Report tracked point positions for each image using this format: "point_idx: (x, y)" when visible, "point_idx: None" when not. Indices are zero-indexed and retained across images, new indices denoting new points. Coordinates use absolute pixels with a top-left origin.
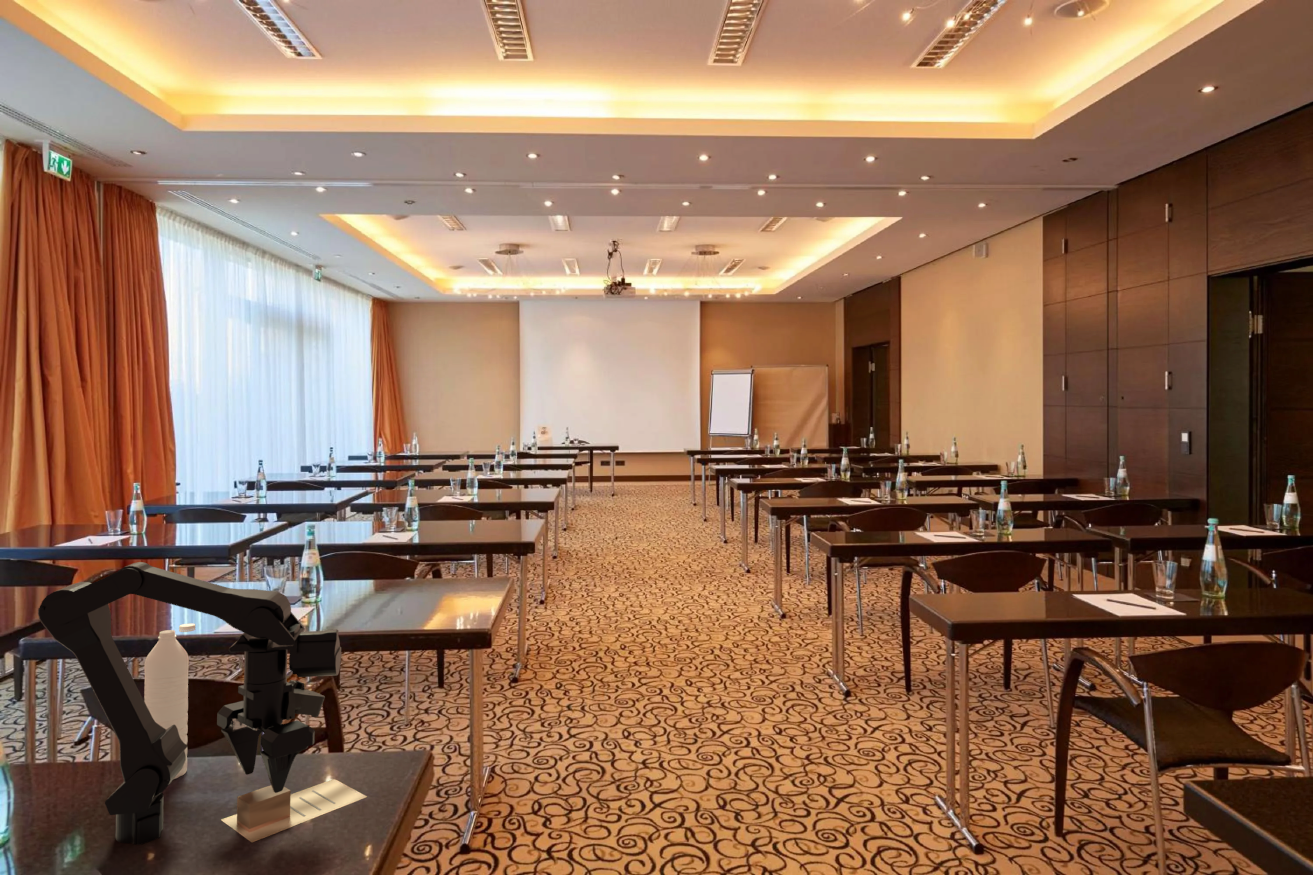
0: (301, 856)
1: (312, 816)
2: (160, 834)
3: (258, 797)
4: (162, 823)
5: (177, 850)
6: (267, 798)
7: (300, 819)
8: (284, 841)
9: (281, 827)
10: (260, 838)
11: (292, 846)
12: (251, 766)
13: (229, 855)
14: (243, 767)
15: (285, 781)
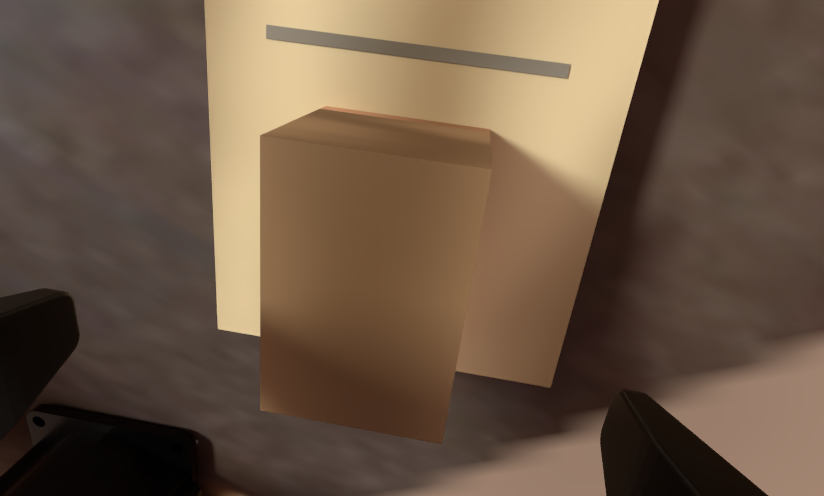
0: (804, 276)
1: (621, 44)
2: (172, 492)
3: (387, 359)
4: (117, 488)
5: (278, 456)
6: (459, 343)
7: (578, 114)
8: (597, 229)
9: (558, 235)
10: (556, 350)
11: (679, 239)
12: (25, 340)
13: (479, 404)
14: (24, 412)
15: (712, 451)
